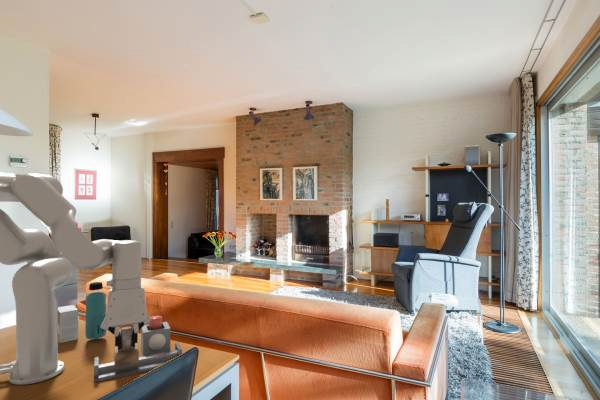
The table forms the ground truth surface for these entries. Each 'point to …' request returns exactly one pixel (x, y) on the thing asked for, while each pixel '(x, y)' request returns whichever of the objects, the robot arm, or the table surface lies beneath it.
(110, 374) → the rail track
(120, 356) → the carriage
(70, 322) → the small box
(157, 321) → the gauge button
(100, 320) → the beverage bottle
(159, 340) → the gauge cabinet
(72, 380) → the table surface
